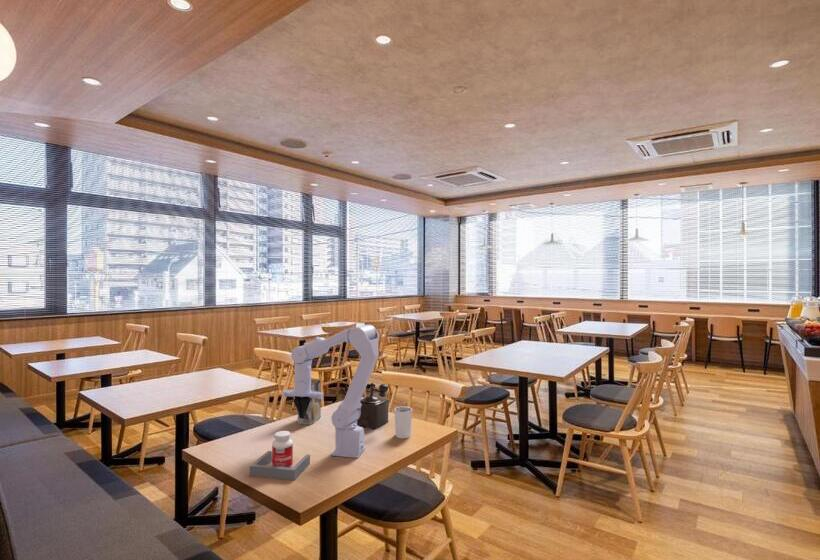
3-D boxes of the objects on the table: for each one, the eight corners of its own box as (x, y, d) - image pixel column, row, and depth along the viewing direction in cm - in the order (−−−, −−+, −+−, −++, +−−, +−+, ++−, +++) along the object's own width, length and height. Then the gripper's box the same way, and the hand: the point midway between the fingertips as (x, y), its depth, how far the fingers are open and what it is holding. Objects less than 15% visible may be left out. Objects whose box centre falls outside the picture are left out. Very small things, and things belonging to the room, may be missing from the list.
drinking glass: (408, 440, 160) (408, 412, 160) (391, 437, 163) (391, 410, 163) (414, 433, 167) (414, 407, 166) (398, 431, 169) (398, 405, 169)
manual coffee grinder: (352, 425, 175) (352, 380, 175) (368, 417, 185) (368, 375, 184) (384, 433, 167) (384, 386, 167) (399, 424, 177) (400, 380, 176)
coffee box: (306, 416, 185) (307, 378, 185) (321, 417, 184) (321, 379, 184) (297, 423, 176) (297, 384, 176) (311, 425, 175) (312, 385, 175)
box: (309, 464, 140) (310, 454, 140) (294, 480, 129) (294, 470, 129) (268, 460, 142) (268, 450, 142) (249, 475, 131) (249, 465, 131)
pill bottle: (273, 474, 132) (273, 438, 132) (270, 466, 138) (271, 431, 138) (294, 471, 135) (294, 435, 134) (291, 462, 140) (291, 428, 140)
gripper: (326, 377, 158) (326, 415, 158) (288, 375, 160) (288, 412, 161) (319, 382, 151) (318, 421, 151) (279, 380, 153) (279, 419, 154)
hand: (302, 417), depth 155 cm, fingers closed
